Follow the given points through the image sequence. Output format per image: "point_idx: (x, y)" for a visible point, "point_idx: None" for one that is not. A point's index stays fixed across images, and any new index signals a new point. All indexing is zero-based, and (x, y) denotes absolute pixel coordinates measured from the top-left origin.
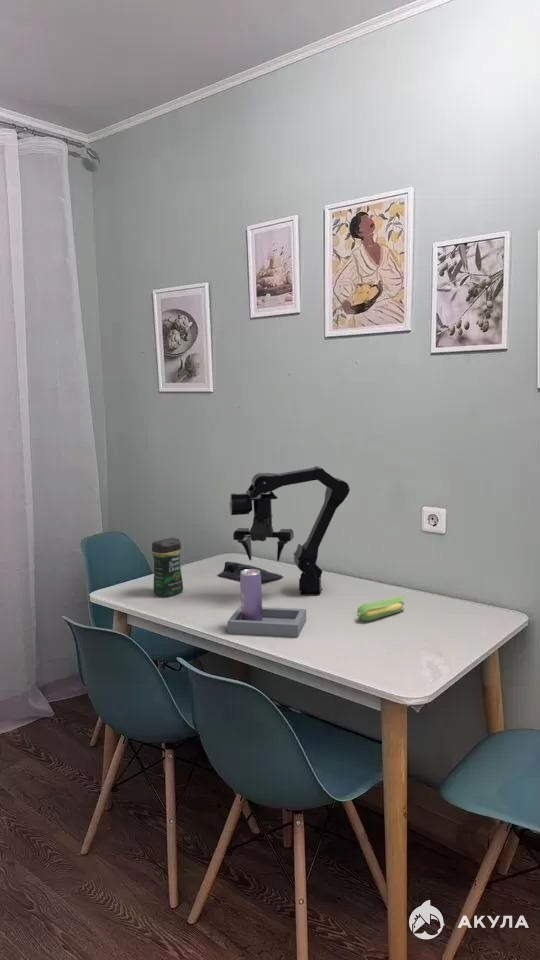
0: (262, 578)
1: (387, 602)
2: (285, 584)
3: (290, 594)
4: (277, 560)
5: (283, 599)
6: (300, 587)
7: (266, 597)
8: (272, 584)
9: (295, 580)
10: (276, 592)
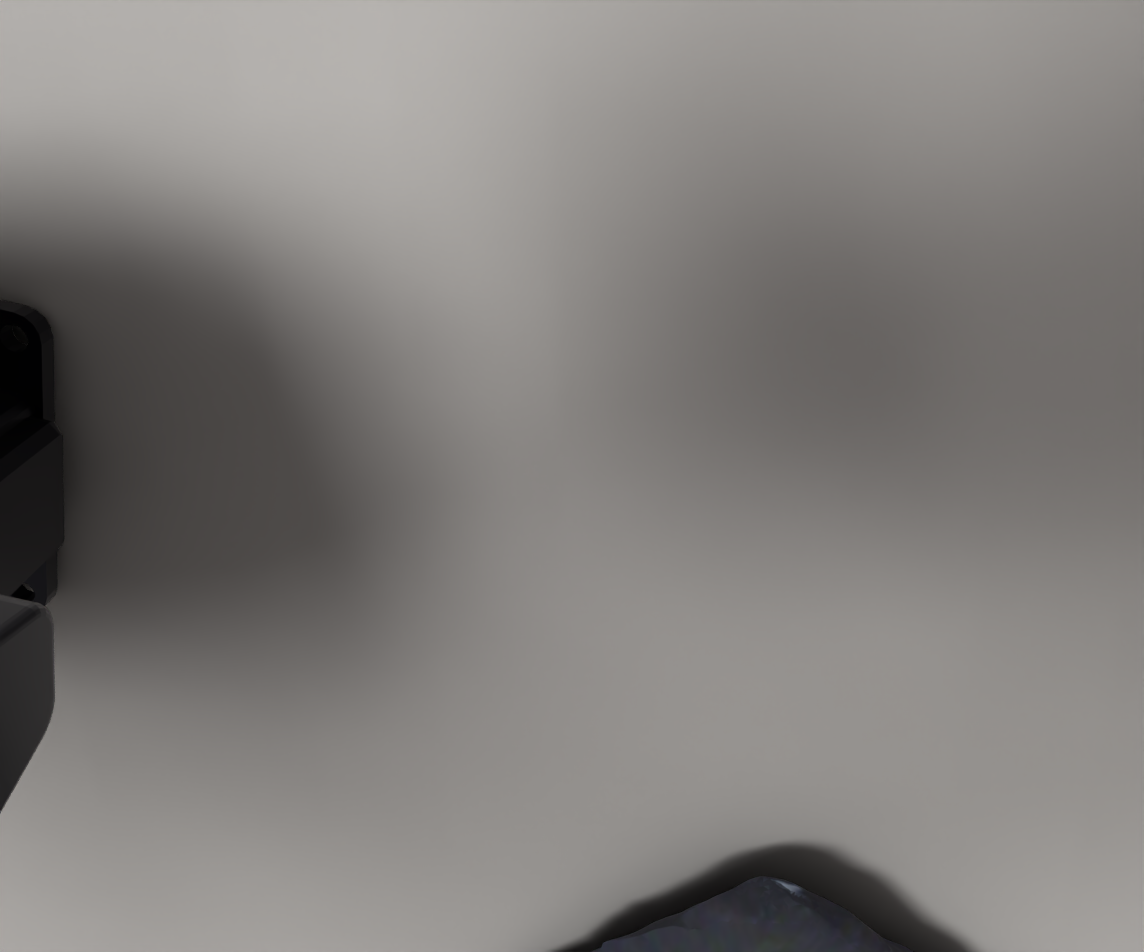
0: (713, 947)
1: None
2: (366, 817)
3: (228, 363)
4: (17, 616)
5: (322, 82)
6: (3, 445)
7: (659, 238)
8: (561, 842)
9: (242, 939)
10: (482, 491)
